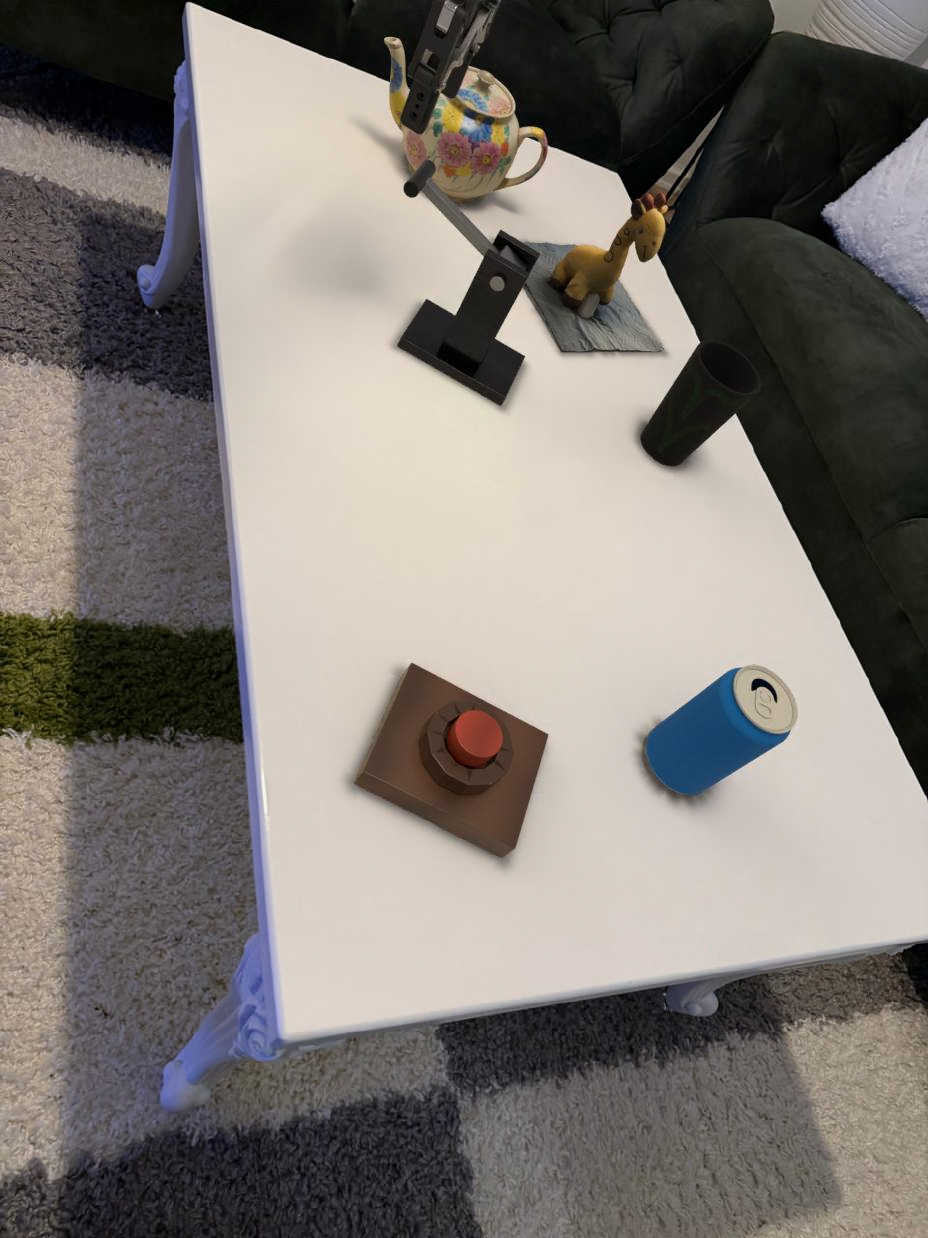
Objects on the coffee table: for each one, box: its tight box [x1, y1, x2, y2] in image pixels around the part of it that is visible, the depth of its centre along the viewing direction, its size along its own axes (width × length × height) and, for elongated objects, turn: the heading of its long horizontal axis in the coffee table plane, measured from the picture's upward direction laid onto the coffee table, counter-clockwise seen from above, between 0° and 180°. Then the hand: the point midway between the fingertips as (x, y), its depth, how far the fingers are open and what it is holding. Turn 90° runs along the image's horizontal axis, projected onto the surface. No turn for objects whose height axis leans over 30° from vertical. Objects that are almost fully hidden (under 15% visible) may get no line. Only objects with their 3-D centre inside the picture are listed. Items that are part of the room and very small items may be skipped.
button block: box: [353, 662, 549, 859], centre depth 64 cm, size 12×10×4 cm
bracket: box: [396, 229, 540, 406], centre depth 87 cm, size 12×8×13 cm, turn 71°
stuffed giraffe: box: [523, 192, 669, 353], centre depth 101 cm, size 16×18×16 cm
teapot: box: [383, 36, 549, 204], centre depth 103 cm, size 20×14×13 cm
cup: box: [640, 339, 762, 467], centre depth 93 cm, size 8×8×12 cm
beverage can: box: [645, 664, 799, 796], centre depth 70 cm, size 6×6×12 cm
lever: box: [402, 160, 527, 270], centre depth 82 cm, size 13×5×2 cm, turn 71°
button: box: [446, 710, 503, 767], centre depth 62 cm, size 4×4×2 cm
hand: (428, 109), depth 75 cm, fingers open, 8 cm apart
